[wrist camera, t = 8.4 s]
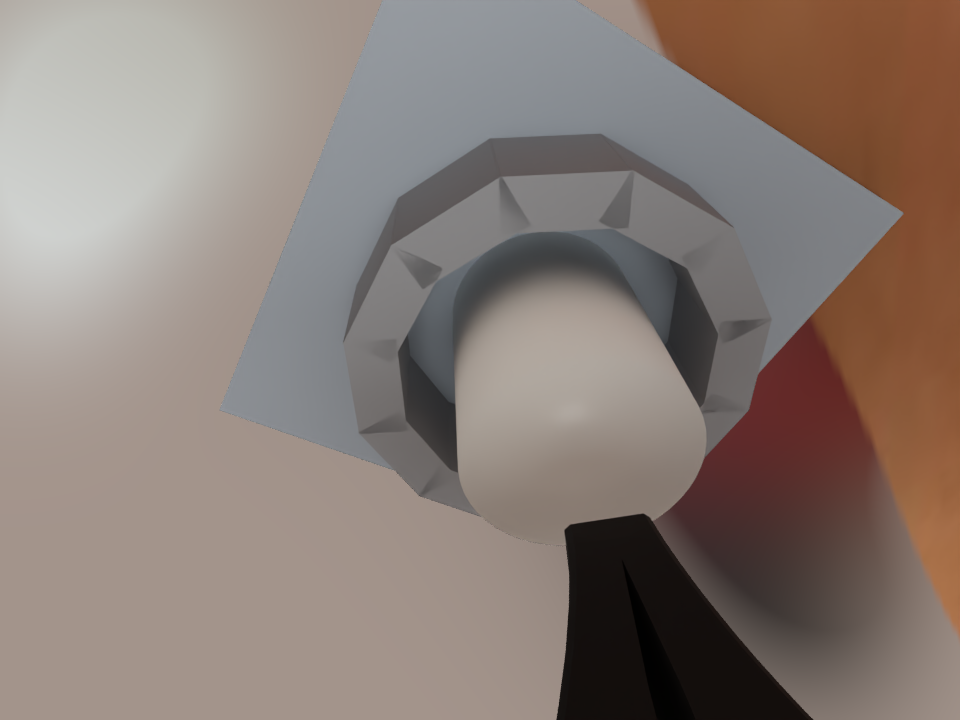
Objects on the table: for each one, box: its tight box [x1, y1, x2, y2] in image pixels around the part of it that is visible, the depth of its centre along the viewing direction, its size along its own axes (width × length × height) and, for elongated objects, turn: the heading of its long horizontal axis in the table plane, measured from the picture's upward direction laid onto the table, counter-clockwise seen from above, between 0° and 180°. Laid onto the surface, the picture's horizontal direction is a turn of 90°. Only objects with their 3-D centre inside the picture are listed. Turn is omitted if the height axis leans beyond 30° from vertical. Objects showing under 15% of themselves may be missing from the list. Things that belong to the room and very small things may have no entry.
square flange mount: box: [220, 0, 904, 517], centre depth 17 cm, size 14×14×4 cm
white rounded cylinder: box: [452, 232, 707, 546], centre depth 15 cm, size 5×5×6 cm
